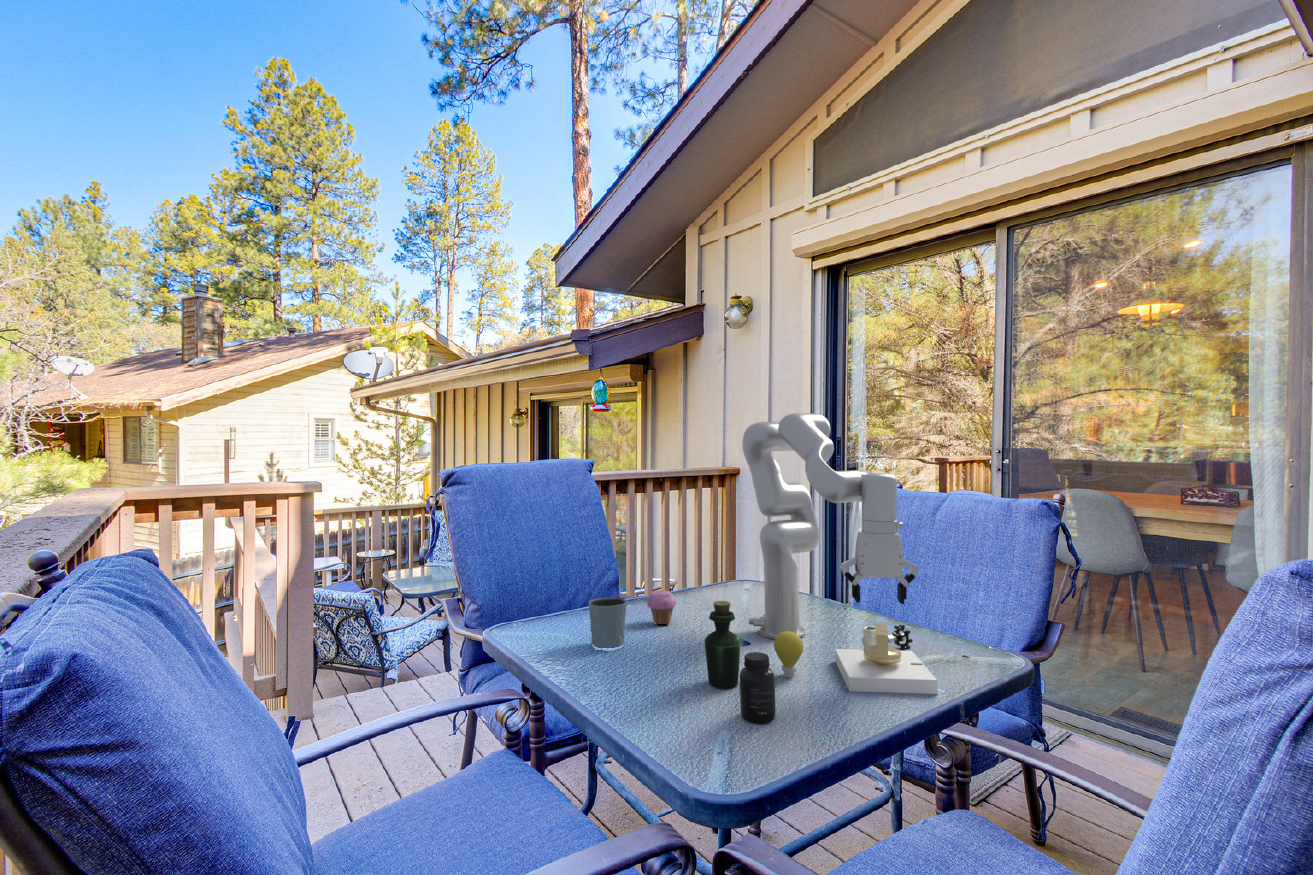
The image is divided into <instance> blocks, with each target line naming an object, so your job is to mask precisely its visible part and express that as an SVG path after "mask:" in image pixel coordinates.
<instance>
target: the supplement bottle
mask: <svg viewBox="0 0 1313 875" xmlns="http://www.w3.org/2000/svg"><path fill="white" fill-rule="evenodd" d="M743 660H744V661H743V666H744V667H742V669H741V670H740V671H739V697H740V699H739V702H740V704H739V705H740V716H741V718H742V719H743V720H744V721H745V722H747V723H750V724H753V725H754V724H755V725H766V724H769V723H771V722H773V721H774V720H775V718H776V715H777V714H776V680H775V679H776V677H775V673H774V671H773V670H772V669H771V667H770V665H771V663H770V656H769V655H768V654H766V653H765V652H759V651H752V652H751V651H750V652H747V653H746V654H744V659H743Z"/></svg>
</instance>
